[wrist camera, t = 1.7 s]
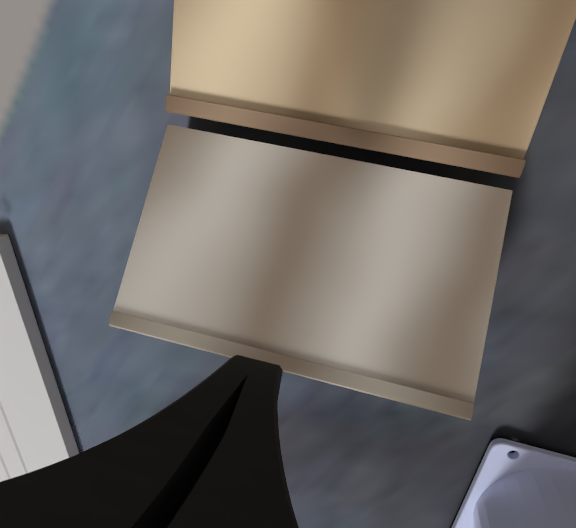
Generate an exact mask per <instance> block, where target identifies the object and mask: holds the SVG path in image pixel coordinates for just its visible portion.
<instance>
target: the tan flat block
mask: <svg viewBox="0 0 576 528" xmlns="http://www.w3.org/2000/svg"><path fill="white" fill-rule="evenodd" d="M512 191H513V190H508V189H502V188H497V187H492V186H487V185H481V184H476V183H471V182H466V181H461V180H455V179H450V178H445V177H440V176H435V175H429V174H424V173H419V172H414V171H408V170H403V169H398V168H393V167H388V166H382V165H377V164H372V163H367V162H362V161H356V160H351V159H346V158H341V157H335V156H330V155H325V154H320V153H315V152H309V151H304V150H299V149H294V148H289V147H283V146H278V145H273V144H268V143H262V142H257V141H252V140H247V139H242V138H236V137H231V136H226V135H221V134H216V133H210V132H205V131H200V130H195V129H189V128H184V127H179V126H174V125H169V124H168V126H167V129H166V133H165V136H164V140H163V143H162V146H161V150H160V153H159V157H158V160H157V163H156V167H155V170H154V174H153V177H152V181H151V184H150V187H149V191H148V194H147V198H146V201H145V204H144V208H143V211H142V215H141V218H140V221H139V225H138V228H137V232H136V235H135V238H134V242H133V245H132V249H131V252H130V256H129V259H128V262H127V266H126V269H125V273H124V276H123V279H122V283H121V286H120V290H119V293H118V296H117V300H116V303H115V307H114V310H113V311H112V314H111V317H110V320H109V326H113V327H117V328H120V329H124V330H128V331H132V332H136V333H139V334H143V335H147V336H151V337H155V338H158V339H162V340H166V341H170V342H174V343H178V344H181V345H185V346H189V347H193V348H197V349H200V350H204V351H208V352H212V353H216V354H219V355H223V356H227V357H231V358H232V357H233V356H235V355H240V356H244V357H248V358H252V359H256V360H260V361H264V362H268V363H272V364H276V365H280V367H281V368H282V370H283V371H284V372H288V373H292V374H295V375H299V376H303V377H307V378H311V379H314V380H318V381H322V382H326V383H330V384H334V385H337V386H341V387H345V388H349V389H353V390H356V391H360V392H364V393H368V394H372V395H375V396H379V397H383V398H387V399H391V400H394V401H398V402H402V403H406V404H410V405H413V406H417V407H421V408H425V409H429V410H432V411H436V412H440V413H444V414H448V415H451V416H455V417H459V418H463V419H467V420H470V421H471V419H472V414H473V409H474V399H475V394H476V388H477V383H478V377H479V372H480V366H481V361H482V355H483V350H484V344H485V339H486V333H487V328H488V322H489V317H490V312H491V306H492V301H493V295H494V290H495V284H496V279H497V273H498V268H499V262H500V257H501V251H502V246H503V240H504V235H505V229H506V224H507V218H508V213H509V208H510V202H511V197H512Z"/></svg>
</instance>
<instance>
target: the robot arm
mask: <svg viewBox="0 0 576 528" xmlns="http://www.w3.org/2000/svg"><path fill="white" fill-rule="evenodd" d="M282 371H283V370H282V368H281V367H280V365H276V364H272V363H268V362H264V361H260V360H256V359H252V358H248V357H244V356H240V355H235V356H233V357H232V358H231V359H229V360H228V361H227V362H226V363H225V364H223V365H222V366H221V367H220V368H219V369H218V370H216V371H215V372H214V373H213V374H211V375H210V376H209V377H208V378H206V379H205V380H204V381H202V382H201V383H200V384H198V385H197V386H196V387H194V388H193V389H192V390H190V391H189V392H188V393H186V394H185V395H184V396H182V397H181V398H179V399H178V400H176V401H175V402H173V403H172V404H170V405H169V406H167V407H166V408H164V409H163V410H161V411H160V412H158V413H157V414H155V415H153V416H152V417H150V418H148V419H147V420H145V421H143V422H142V423H140V424H138V425H136V426H135V427H133V428H131V429H129V430H127V431H126V432H124V433H122V434H120V435H118V436H116V437H114V438H112V439H110V440H108V441H106V442H103V443H101V444H99V445H97V446H95V447H92V448H90V449H88V450H86V451H84V452H82V453H79V454H77V455H75V456H72V457H70V458H67V459H64V460H62V461H59V462H57V463H54V464H52V465H49V466H46V467H43V468H41V469H38V470H35V471H32V472H29V473H26V474H24V475H21V476H18V477H14V478H11V479H8V480H4V481H1V482H0V528H298V525H297V521H296V518H295V514H294V511H293V508H292V504H291V500H290V496H289V491H288V487H287V483H286V478H285V473H284V468H283V462H282V456H281V449H280V440H279V430H278V412H277V400H278V394H279V388H280V383H281V377H282ZM509 451H516V452H514V453H508V452H509ZM451 528H576V458H575V457H571V456H567V455H564V454H560V453H556V452H552V451H548V450H545V449H541V448H537V447H533V446H530V445H526V444H522V443H518V442H515V441H511V440H507V439H502V438H498V439H494V440H493V441H491V443H490V444H489V446H488V448H487V451H486V453H485V455H484V457H483V459H482V462H481V464H480V466H479V468H478V470H477V473H476V475H475V477H474V479H473V481H472V484H471V486H470V488H469V490H468V492H467V494H466V497H465V499H464V501H463V503H462V505H461V508H460V510H459V512H458V514H457V516H456V519H455V521H454V523H453V525H452V527H451Z"/></svg>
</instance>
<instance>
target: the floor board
mask: <svg viewBox="0 0 576 528" xmlns="http://www.w3.org/2000/svg"><path fill="white" fill-rule="evenodd" d="M575 19H576V0H174V16H173V38H172V60H171V82H170V95H166V112H171V113H176V114H182V115H187V116H192V117H198V118H203V119H208V120H214V121H219V122H224V123H230V124H235V125H240V126H246V127H251V128H256V129H262V130H267V131H272V132H278V133H283V134H288V135H293V136H299V137H304V138H309V139H315V140H320V141H325V142H331V143H336V144H341V145H347V146H352V147H357V148H363V149H368V150H373V151H379V152H384V153H389V154H395V155H400V156H405V157H411V158H416V159H421V160H427V161H432V162H437V163H443V164H448V165H453V166H459V167H464V168H469V169H475V170H480V171H485V172H491V173H496V174H501V175H507V176H512V177H517V178H520V176H521V173H522V171H523V168H524V165H525V163H526V160H524V157H525V154H526V151H527V149H528V146H529V143H530V141H531V138H532V135H533V133H534V130H535V127H536V124H537V122H538V119H539V116H540V114H541V111H542V108H543V105H544V103H545V100H546V97H547V95H548V92H549V89H550V86H551V84H552V81H553V78H554V76H555V73H556V70H557V67H558V65H559V62H560V59H561V57H562V54H563V51H564V49H565V46H566V43H567V40H568V38H569V35H570V32H571V30H572V27H573V24H574V21H575Z"/></svg>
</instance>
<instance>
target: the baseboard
mask: <svg viewBox="0 0 576 528" xmlns="http://www.w3.org/2000/svg"><path fill="white" fill-rule="evenodd" d="M77 454H79V451H78V448H77V445H76V442H75V439H74V435H73V432H72V429H71V426H70V423H69V420H68V417H67V414H66V411H65V408H64V405H63V402H62V399H61V395H60V392H59V389H58V386H57V383H56V380H55V377H54V374H53V371H52V368H51V365H50V362H49V359H48V356H47V352H46V349H45V346H44V343H43V340H42V337H41V334H40V331H39V328H38V325H37V322H36V319H35V316H34V312H33V309H32V306H31V303H30V300H29V297H28V294H27V291H26V288H25V285H24V282H23V279H22V276H21V273H20V269H19V266H18V263H17V260H16V257H15V254H14V251H13V248H12V245H11V242H10V239H9V236H8V234H0V482H1V481H4V480H8V479H11V478H14V477H18V476H21V475H24V474H26V473H29V472H32V471H35V470H38V469H41V468H43V467H46V466H49V465H52V464H54V463H57V462H59V461H62V460H64V459H67V458H70V457H72V456H75V455H77Z"/></svg>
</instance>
